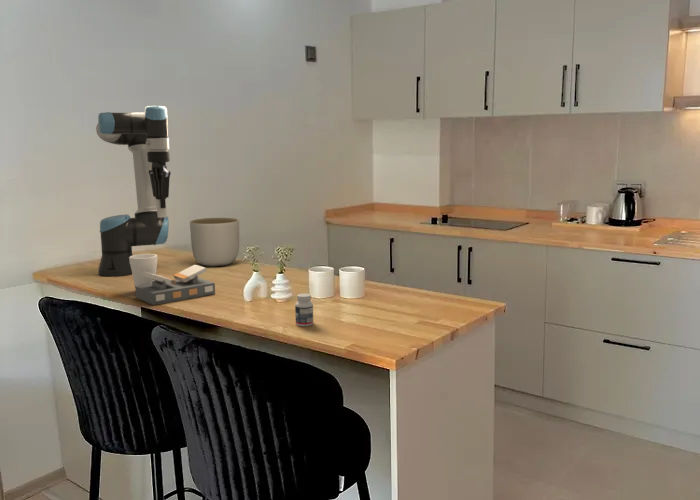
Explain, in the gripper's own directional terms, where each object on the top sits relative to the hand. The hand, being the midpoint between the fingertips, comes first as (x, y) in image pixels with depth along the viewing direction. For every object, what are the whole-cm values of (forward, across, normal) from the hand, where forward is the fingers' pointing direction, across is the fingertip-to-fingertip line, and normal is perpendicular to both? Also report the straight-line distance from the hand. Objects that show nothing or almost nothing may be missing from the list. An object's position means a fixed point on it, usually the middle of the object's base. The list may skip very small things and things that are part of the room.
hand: (162, 217), depth 234 cm
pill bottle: (+27, +70, +11) cm, 76 cm away
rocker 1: (+20, +12, -8) cm, 25 cm away
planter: (+27, -29, +37) cm, 54 cm away
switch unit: (+26, +12, -2) cm, 29 cm away
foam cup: (+27, -1, -8) cm, 28 cm away
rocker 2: (+20, +12, +4) cm, 24 cm away
